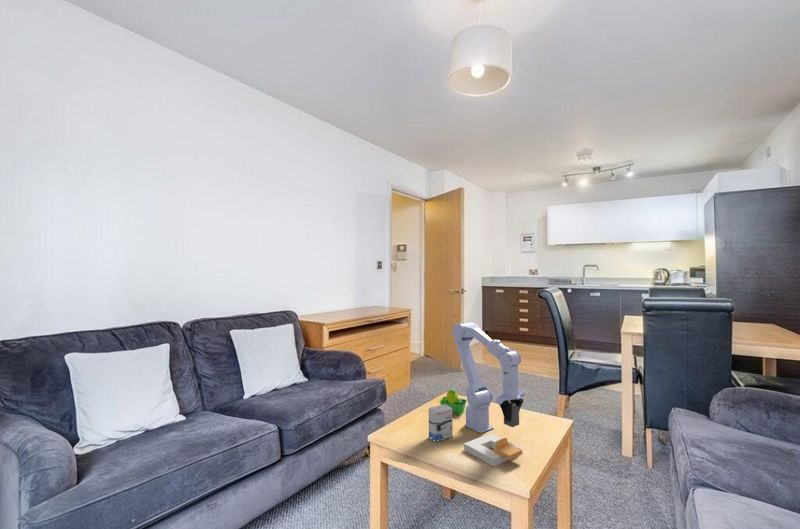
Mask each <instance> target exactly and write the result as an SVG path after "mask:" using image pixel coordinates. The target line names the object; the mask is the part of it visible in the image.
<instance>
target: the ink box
mask: <svg viewBox="0 0 800 529" xmlns="http://www.w3.org/2000/svg"><path fill="white" fill-rule="evenodd" d="M453 426H454V425H453V413H452V408H451V407H449V406H448V405H446V404H444V405H441V404H440V405H436V406H435V405H433V406H430V407H428V438H429V437H431V438H432V439H433V440H435V441H437V440H441V441H443V440H442V439H445V440H447V439H446V438H449V439H451V437H452V438H453V436H454V434H453V433H454V431H453ZM432 439H431V440H432ZM433 440H432V441H433ZM435 441H434V442H435ZM437 442H438V441H437Z"/></svg>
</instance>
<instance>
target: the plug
mask: <svg viewBox="0 0 800 529" xmlns="http://www.w3.org/2000/svg"><path fill="white" fill-rule="evenodd" d="M509 403H511V404H513V406H512V409H511V418H510V421H507V420H505V419H504V418H503V424H504V425H506V426H508V427H510V428H515V427H517V426H519V425H520V411H519V406H517V405H516V404H514V403H512V402H510V401H509Z"/></svg>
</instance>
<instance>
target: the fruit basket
mask: <svg viewBox="0 0 800 529" xmlns="http://www.w3.org/2000/svg"><path fill="white" fill-rule="evenodd" d="M467 402H468V401H467V399H464V398H463V399H462V398H459V395H458V393H457V392H456V391H455V390H454V389H452V388H450V389H448V390H447V392H446V396H443V397H442V398H441V399H440V400H439V404H440V405H444V404H446V405H448V406H449V407H451V408H452V414H453V413H457V414H456V415H460V414H461V415H463V413H464V412H465V410H466V404H467Z"/></svg>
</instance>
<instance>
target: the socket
mask: <svg viewBox="0 0 800 529" xmlns="http://www.w3.org/2000/svg"><path fill="white" fill-rule="evenodd" d="M501 439H502V438H501V437H499V436H497V435H494V434H492V433H488V434H485V435H483V436H480V437H478V438H475V439H472V440H469V441H466V442H464V443H463V451H464V450H465V452H466V451H467V452H466V453H468V452H469V453H468V454H470V455H472V456H473V455H474V456H473V457H475V456H476V457H475V458H477V457H478V458H477V459H479V460H480V461H483V462H485V463H487V464H488V465H490V466H492V467H497V466H498V465H500V464H503V463H505V462H507V461H509V460H508V459H506V458H504V457H502V456H500V455H499V454H497V453H495V452H494V448H495V447H496V441H498V440H501ZM507 443H508V444H510V445H513V446H515V447H517V448H519V449H521V447H520V446H518V445H516V444H513V443H511V442H509V441H508V440H507ZM490 448H492V449H493V450H492V449H490Z"/></svg>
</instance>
